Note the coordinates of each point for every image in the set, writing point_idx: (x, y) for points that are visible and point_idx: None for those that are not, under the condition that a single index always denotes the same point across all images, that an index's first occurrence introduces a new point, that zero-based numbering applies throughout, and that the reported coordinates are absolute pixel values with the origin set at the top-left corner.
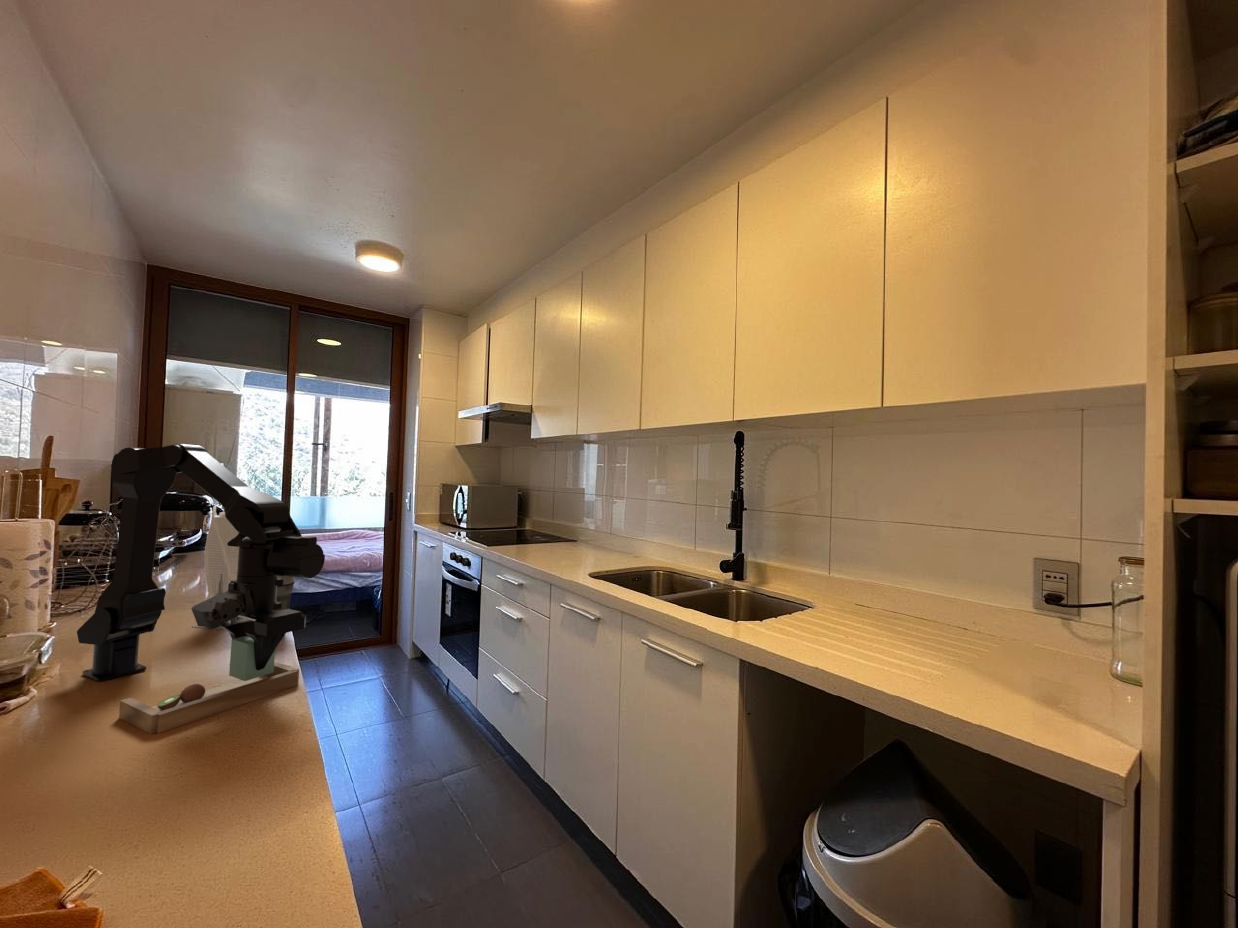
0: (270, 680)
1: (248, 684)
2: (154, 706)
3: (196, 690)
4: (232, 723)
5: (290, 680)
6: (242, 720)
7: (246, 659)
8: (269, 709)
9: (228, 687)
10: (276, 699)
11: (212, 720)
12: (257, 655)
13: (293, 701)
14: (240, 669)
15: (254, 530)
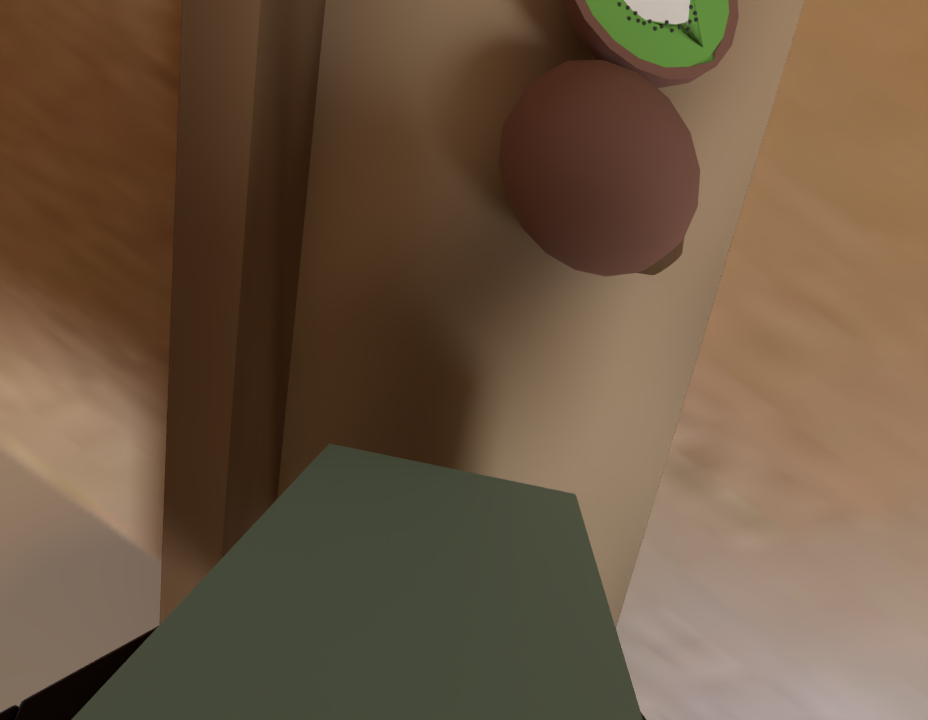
0: (170, 519)
1: (217, 391)
2: (788, 4)
3: (527, 142)
4: (21, 62)
5: None
6: (14, 122)
7: (218, 569)
8: (35, 307)
9: (580, 461)
10: (139, 432)
11: (175, 40)
12: (83, 668)
13: (28, 442)
14: (384, 504)
15: None
